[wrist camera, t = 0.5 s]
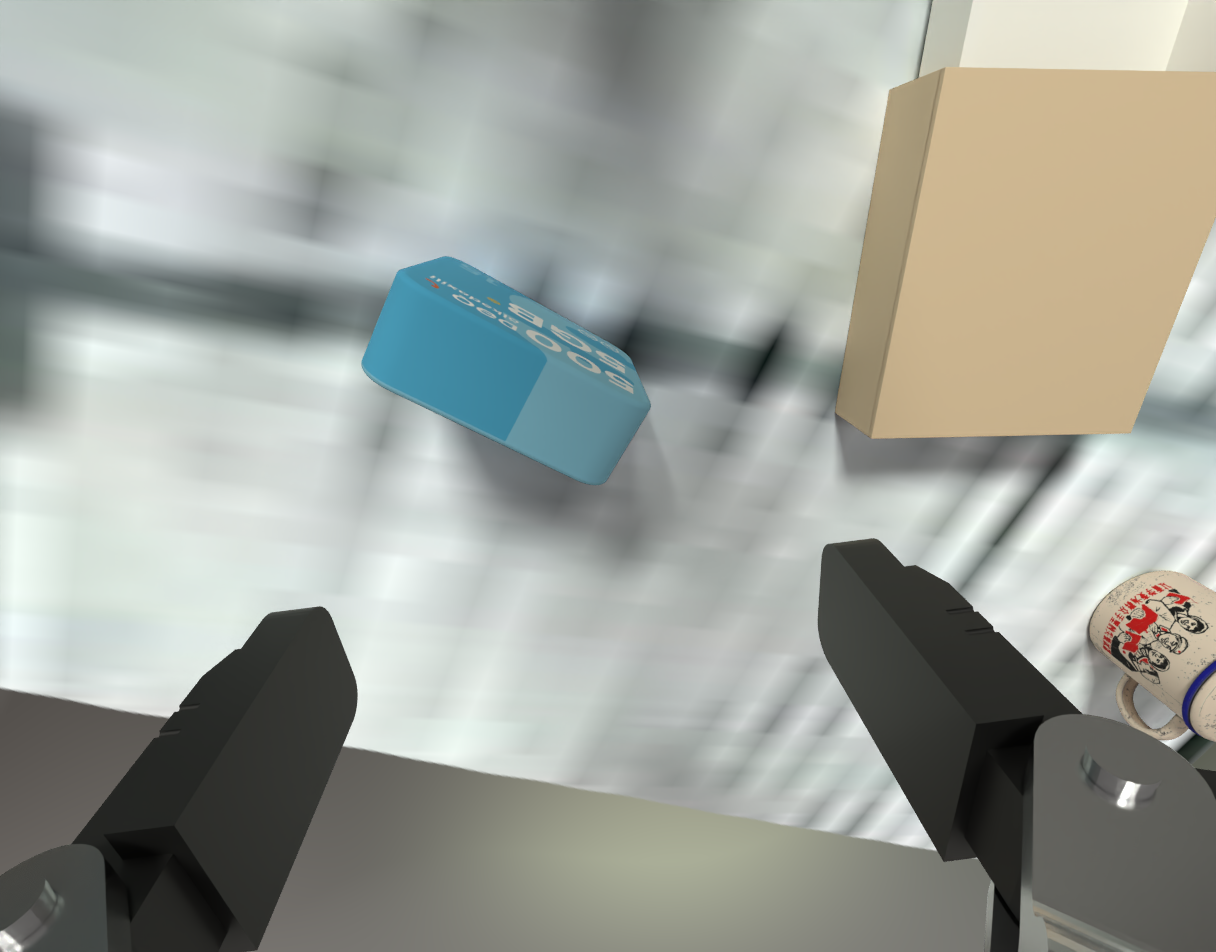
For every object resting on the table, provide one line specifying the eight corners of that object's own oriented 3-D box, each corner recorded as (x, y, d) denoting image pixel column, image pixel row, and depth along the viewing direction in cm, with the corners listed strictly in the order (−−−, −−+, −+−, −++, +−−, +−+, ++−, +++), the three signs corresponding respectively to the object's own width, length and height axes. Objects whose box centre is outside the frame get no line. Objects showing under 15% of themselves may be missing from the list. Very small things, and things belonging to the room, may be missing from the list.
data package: (630, 353, 36) (658, 413, 25) (595, 415, 37) (606, 497, 26) (448, 252, 33) (388, 269, 22) (418, 323, 34) (347, 373, 23)
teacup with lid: (1134, 552, 44) (1312, 657, 34) (1220, 582, 46) (1415, 690, 36) (1039, 668, 49) (1170, 793, 38) (1121, 691, 50) (1269, 816, 40)
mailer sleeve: (889, 89, 31) (945, 67, 26) (1170, 94, 32) (1272, 73, 27) (834, 412, 38) (871, 438, 33) (1064, 408, 39) (1130, 433, 34)
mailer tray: (989, -304, 24) (1053, -384, 21) (1290, -287, 25) (1394, -360, 22) (855, 415, 37) (882, 433, 34) (1057, 411, 38) (1101, 429, 35)
